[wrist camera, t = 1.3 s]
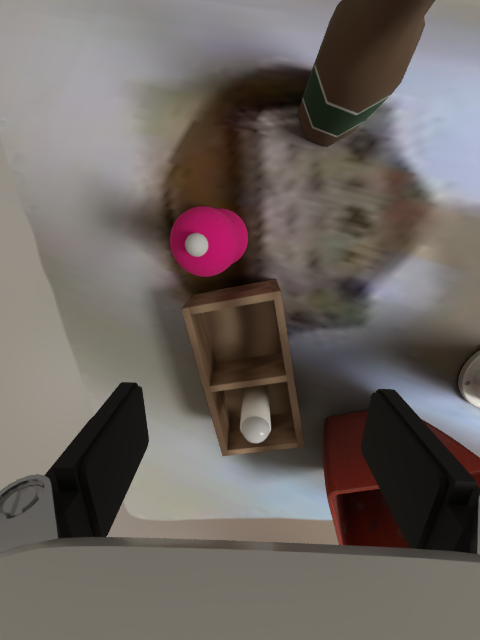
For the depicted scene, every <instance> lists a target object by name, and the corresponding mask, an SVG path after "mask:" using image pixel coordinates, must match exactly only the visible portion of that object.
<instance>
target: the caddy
mask: <svg viewBox="0 0 480 640" xmlns="http://www.w3.org/2000/svg"><path fill="white" fill-rule="evenodd" d="M181 311H182V314H183V318H184V322H185V325H186V329H187V332H188V336H189V339H190V343H191V346H192V350H193V353H194V357H195V360H196V364H197V367H198V371H199V374H200V378H201V381H202V385H203V389H204V392H205V396H206V399H207V403H208V406H209V410H210V413H211V417H212V420H213V424H214V427H215V431H216V434H217V438H218V441H219V445H220V448H221V452H222V456H228V455H237V454H246V453H255V452H264V451H273V450H282V449H291V448H300V447H304V440H303V434H302V427H301V421H300V414H299V407H298V401H297V394H296V388H295V381H294V374H293V368H292V361H291V355H290V348H289V342H288V335H287V328H286V322H285V315H284V309H283V302H282V295H281V290H280V288H279V285H278V283H277V281H276V279H273V280H268V281H263V282H257V283H252V284H247V285H241V286H236V287H231V288H225V289H220V290H215V291H209V292H204V293H198V294H194V295H193V296H192V297H191V298H190V300H189V301H188V302H187V303H186V304H185V305H184V306H183V307H182V308H181ZM259 385H266V386H267V388H268V396H269V408H270V421H271V431H270V433H269V435H268V436H267V438H266V439H265V440H264V441H263V442H260V443H251V442H249V441H248V440H246V439H245V437H244V436H243V434H242V433H241V430H240V421H241V407H242V394H243V388H244V387H251V386H259Z"/></svg>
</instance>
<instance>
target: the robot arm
mask: <svg viewBox="0 0 480 640" xmlns="http://www.w3.org/2000/svg"><path fill="white" fill-rule="evenodd" d="M458 386H459V390H460V393H461V395H462V396H463V397H464V398H465V399H466V400H467V401H468V402H469V403H471V404H472V405H474V406H475V407H478V408H480V350H479V351H478V352H476V353H475V354H474V355H473V356H471V357H470V358H469V360H468V361H467V362H466V363H465V364H464V366H463V368H462V369H461V372H460V375H459V379H458ZM148 442H149V436H148V429H147V421H146V414H145V407H144V399H143V392H142V388H141V387H140V386H138V384H137V383H130V382H122V383H120V384H119V386H118V387H117V388H116V389H115V391H114V392H113V393H112V394H111V396H110V397H109V398H108V399H107V400H106V402H105V403H104V404H103V405H102V407H101V408H100V409H99V410H98V412H97V413H96V414H95V415H94V416H93V417H92V418H91V419H90V420H89V421H88V423H87V424H86V425H85V426H84V428H83V429H82V430H81V432H80V433H79V434H78V435H77V436H76V437H75V439H74V440H73V441H72V442H71V444H70V445H69V446H68V447H67V449H66V450H65V451H64V452H63V453H62V455H61V456H60V457H59V459H58V460H57V461H56V462H55V463H54V464H53V466H52V467H51V468H50V469H49V471H48V472H47V473H46V474H45V475H38V474H37V475H30V476H27V477H24V478H21V479H18V480H16V481H15V482H13V483H11V484H9V485H8V486H6V487H5V488H3V489H2V490H1V491H0V640H480V488H479V487H478V486H477V485H476V483H477V481H476V480H475V479H474V478H473V477H472V475H471V474H470V473H469V472H468V471H467V470H466V469H465V468H464V467H463V465H462V464H461V463H460V462H459V461H458V460H457V459H456V458H455V457H454V455H453V454H452V453H451V452H450V451H449V450H448V449H447V448H446V446H445V445H444V444H443V443H442V442H441V441H440V440H439V439H438V438H437V436H436V435H435V434H434V433H433V432H432V431H431V430H430V429H429V428H428V426H427V425H426V424H425V423H424V422H423V421H422V420H421V419H420V418H419V416H418V415H417V414H416V413H415V412H414V411H413V410H412V409H411V407H410V406H409V405H408V404H407V403H406V402H405V401H404V400H403V399H402V397H401V396H400V395H399V394H398V393H397V392H396V391H395V390H392V389H378V390H377V391H376V393H373V394H372V396H371V401H370V405H369V410H368V414H367V419H366V423H365V428H364V432H363V437H362V441H361V451H362V454H363V457H364V459H365V461H366V463H367V464H368V466H369V468H370V470H371V472H372V474H373V476H374V478H375V480H376V482H377V484H378V486H379V488H380V490H381V492H382V494H383V496H384V498H385V500H386V502H387V504H388V506H389V508H390V510H391V512H392V514H393V516H394V518H395V520H396V522H397V524H398V526H399V528H400V530H401V532H402V534H403V536H404V538H405V540H406V542H407V544H408V546H409V547H410V548H394V547H372V546H350V545H327V544H302V543H278V542H253V541H252V542H251V541H226V540H197V539H167V538H131V537H130V538H129V537H106V536H107V535H108V533H109V531H110V528H111V526H112V524H113V522H114V519H115V517H116V515H117V513H118V511H119V509H120V506H121V504H122V502H123V500H124V498H125V495H126V493H127V491H128V489H129V486H130V484H131V482H132V480H133V478H134V475H135V473H136V471H137V469H138V467H139V464H140V462H141V460H142V458H143V456H144V453H145V451H146V449H147V446H148Z"/></svg>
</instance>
